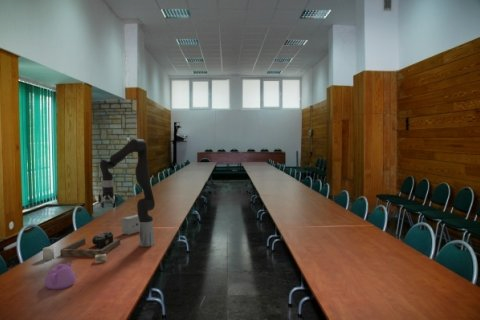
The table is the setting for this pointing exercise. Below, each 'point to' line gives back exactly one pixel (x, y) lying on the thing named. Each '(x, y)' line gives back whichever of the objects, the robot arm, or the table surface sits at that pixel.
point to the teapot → (60, 277)
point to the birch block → (100, 258)
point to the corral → (73, 250)
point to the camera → (103, 239)
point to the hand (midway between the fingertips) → (108, 207)
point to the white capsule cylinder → (48, 253)
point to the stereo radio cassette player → (130, 224)
